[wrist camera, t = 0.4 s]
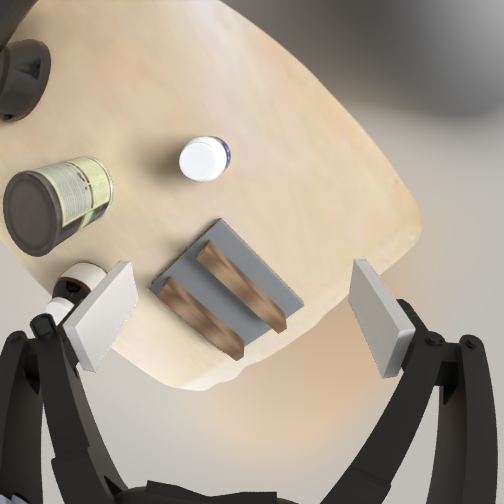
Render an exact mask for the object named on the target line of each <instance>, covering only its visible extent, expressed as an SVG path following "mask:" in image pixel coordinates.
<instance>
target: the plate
mask: <svg viewBox="0 0 504 504" xmlns="http://www.w3.org/2000/svg"><path fill="white" fill-rule="evenodd" d="M209 240H210V241H211V242H212V243H213V244H214V245H215V246H216V247H217V248H218V249H219V250H220V251H222V252H223V253H224V254H225V255H226V256H227V257H228V258H229V259H230V260H231V261H232V262H233V263H234V264H235V265H236V266H237V267H238V268H239V269H240V270H241V271H242V272H243V273H244V274H245V275H246V276H247V277H248V278H249V279H250V280H251V281H252V282H253V283H254V284H255V285H256V286H258V287H259V288H260V289H261V290H262V291H263V292H264V293H265V294H266V295H267V296H268V297H269V298H270V299H271V300H272V301H273V302H274V303H275V304H276V305H277V306H278V307H279V308H281V309H282V310H283V311H284V312H285V318H288V317H289V316H290V315H292V314H293V313H295V312H296V311H297V310H299V309H300V308H302V307H303V306H304V303H303V301H302V300H301V299H300V298H299V297H298V296H297V295H296V294H295V292H294V291H293V290H292V289H291V288H290V287H289V286H288V285H287V284H286V283H285V282H284V281H283V280H282V279H281V278H280V277H279V276H278V275H277V274H276V273H275V272H274V271H273V270H272V269H271V268H270V267H269V266H268V265H267V264H266V263H265V262H264V261H263V260H262V259H261V258H260V257H259V256H258V255H257V254H256V253H255V252H254V251H253V250H252V249H251V248H250V247H249V246H248V245H247V244H246V243H245V242H244V241H243V240H242V239H241V238H240V237H239V236H238V235H237V233H236V232H235V231H234V230H233V229H232V228H231V227H230V226H229V225H228V224H227V223H226V222H225V221H224V220H223V219H222V218H221V219H219V220H218V221H217V222H216V223H215V224H214V225H213V226H212V227H211V228H210V229H209V230H208V231H207V232H205V233H204V234H203V235H202V236H201V237H200V238H199V239H198V240H197V241H196V242H195V243H194V244H193V245H192V246H191V247H190V248H189V249H187V250H186V251H185V252H184V253H183V254H182V255H181V256H180V257H179V258H178V259H177V260H176V261H175V262H174V263H173V264H172V265H171V266H170V267H169V268H168V269H167V270H166V271H165V272H164V273H163V274H162V275H161V276H160V277H159V278H158V279H157V280H156V281H155V282H154V283H153V284H152V285H151V286H150V288H149V289H150V290H151V291H152V292H154V293H155V294H156V295H157V294H158V293H159V291H160V289H161V288H162V286H163V284H164V283H165V281H166V280H167V279H168V278H169V277H172V278H174V279H175V280H176V281H177V282H178V283H179V284H180V285H181V286H182V287H183V288H184V289H186V290H187V291H188V292H189V293H190V294H191V295H192V296H193V297H194V298H196V299H197V300H198V301H199V302H200V303H201V304H202V305H203V306H205V307H206V308H207V309H208V310H209V311H210V312H212V313H213V314H214V315H215V316H216V317H217V318H218V319H220V320H221V321H222V322H223V323H224V324H226V325H227V326H228V327H229V328H230V329H231V330H233V331H234V332H235V333H236V334H237V335H239V336H240V337H241V338H242V339H244V340H245V343H244V347H245V346H246V345H248V344H249V343H251V342H252V341H254V340H255V339H257V338H258V337H260V336H261V335H263V334H264V333H266V332H267V331H269V330H270V329H272V328H271V327H270V326H269V325H268V324H267V323H266V322H265V321H263V320H262V319H261V318H260V317H259V316H258V315H257V314H256V313H254V312H253V311H252V310H251V309H250V308H249V307H248V306H247V305H246V304H245V303H243V302H242V301H241V300H240V299H239V298H238V297H237V296H236V295H235V294H234V293H233V292H231V291H230V290H229V289H228V288H227V287H226V286H225V285H224V284H223V283H222V282H221V281H220V280H219V279H217V278H216V277H215V276H214V275H213V274H212V273H211V272H210V271H209V270H208V269H207V268H206V267H205V266H204V265H203V264H202V263H201V262H200V261H198V260H197V256H198V254H199V252H200V250H201V248H202V247H203V246H204V245H205V244H206V243H207V242H208V241H209ZM171 309H172V308H171ZM178 315H179V314H178ZM185 321H186V320H185ZM191 326H192V325H191ZM197 331H198V330H197ZM222 351H223V350H222Z"/></svg>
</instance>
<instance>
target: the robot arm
mask: <svg viewBox="0 0 504 504" xmlns="http://www.w3.org/2000/svg"><path fill="white" fill-rule="evenodd" d="M37 1H38V0H0V120H3V121H15V120H20V119H22V118H24V117H25V116H27V115H28V114H29V113H30V112H31V111H32V110H33V109H34V107H35V106H36V105H37V103H38V102H39V100H40V98H41V96H42V94H43V92H44V90H45V87H46V85H47V82H48V78H49V74H50V67H51V58H50V52H49V49H48V47H47V46H46V45H45V44H44V43H43V42H40V41H37V40H32V39H27V40H22V41H17V42H13V43H9V44H7V42H8V41H9V39H10V38H11V36H12V35H13V33H14V32H15V30H16V29H17V27H18V26H19V24H20V23H21V22H22V20H23V19H24V18H25V16H26V15H27V14H28V12H29V11H30V10H31V8H32V7H33V6H34V4H35V3H36V2H37ZM138 301H139V298H138V294H137V289H136V285H135V280H134V276H133V271H132V266H131V261H119V262H118V263H117V264H116V265H115V266H114V267H113V268H112V269H111V271H110V272H109V273H108V274H107V275H106V276H105V277H104V278H103V279H102V280H101V281H100V282H99V284H98V285H97V286H96V287H95V288H94V289H93V290H92V291H91V292H90V294H89V295H88V296H87V297H86V298H85V299H82V300H81V301H79V302H78V303H76V304H75V305H74V306H73V308H72V309H71V311H69V312H68V313H67V315H66V316H65V317H64V318H63V319H62V320H61V321H60V323H59V324H58V325H57V326H56V323H55V321H54V318H53V316H52V315H51V314H49V313H44V314H40V315H38V316H36V317H35V318H33V319H32V321H31V322H30V327H31V329H32V331H33V333H34V336H35V338H33V339H28V338H27V336H26V334H25V332H24V331H16V332H13V333H11V334H10V335H9V336H8V337H7V339H6V341H5V344H4V347H3V350H2V352H1V355H0V504H43V491H42V476H41V426H42V411H43V404H44V409H45V414H46V419H47V424H48V428H49V433H50V437H51V441H52V445H53V448H54V452H55V456H56V457H55V458H53V459H52V460H51V464H52V469H53V472H54V475H55V478H56V481H57V484H58V487H59V489H60V493H61V495H62V498H63V501H64V503H65V504H298V503H295V502H293V501H289V500H286V499H282V498H277V492H240V493H234V494H227V495H220V496H212V497H209V496H204V495H202V494H199V493H196V492H193V491H190V490H187V489H185V488H182V487H180V486H177V485H171V484H165V483H159V482H154V481H150V480H148V481H147V486H144V487H135V488H131V489H128V487H127V486H126V485H125V484H124V482H123V480H122V479H121V477H120V475H119V474H118V472H117V470H116V468H115V466H114V464H113V462H112V460H111V458H110V455H109V453H108V451H107V449H106V446H105V445H104V442H103V440H102V437H101V435H100V433H99V430H98V428H97V425H96V423H95V420H94V417H93V415H92V412H91V409H90V406H89V404H88V401H87V398H86V395H85V392H84V389H83V386H82V383H81V380H80V376H79V372H78V370H77V368H76V365H77V363H78V362H80V364H81V366H82V368H83V370H86V371H91V372H96V371H97V369H98V367H99V366H100V364H101V362H102V360H103V359H104V357H105V355H106V353H107V352H108V350H109V348H110V347H111V345H112V343H113V341H114V340H115V338H116V336H117V335H118V333H119V331H120V330H121V328H122V326H123V325H124V323H125V322H126V320H127V318H128V317H129V315H130V314H131V312H132V310H133V309H134V307H135V306H136V304H137V302H138ZM348 301H349V303H350V306H351V308H352V310H353V312H354V314H355V316H356V318H357V321H358V323H359V325H360V327H361V329H362V332H363V334H364V336H365V339H366V341H367V343H368V345H369V348H370V350H371V352H372V355H373V357H374V359H375V362H376V364H377V366H378V369H379V371H380V373H381V376H382V378H389V377H395V376H397V375H398V373H399V371H400V368H401V367H402V369H403V371H404V373H403V375H402V377H401V379H400V381H399V384H398V386H397V388H396V390H395V392H394V393H393V395H392V397H391V399H390V401H389V403H388V405H387V407H386V409H385V410H384V412H383V414H382V416H381V417H380V419H379V421H378V423H377V425H376V426H375V428H374V429H373V431H372V433H371V434H370V436H369V437H368V439H367V441H366V443H365V444H364V445H363V447H362V448H361V450H360V451H359V453H358V454H357V456H356V457H355V459H354V460H353V462H352V463H351V465H350V466H349V467H348V469H347V470H346V471H345V472H344V474H343V475H342V477H341V478H340V479H339V480H338V482H337V483H336V484H335V486H334V487H333V488H332V489H331V491H330V492H329V493H328V494H327V496H326V497H325V498H324V499H323V501H322V502H321V503H320V504H382V502H383V501H384V499H385V497H386V496H387V494H388V492H389V490H390V488H391V481H392V480H393V478H394V476H395V474H396V472H397V470H398V468H399V467H400V465H401V463H402V460H403V459H404V457H405V454H406V453H407V451H408V449H409V447H410V444H411V442H412V440H413V438H414V436H415V433H416V431H417V429H418V426H419V424H420V422H421V419H422V417H423V414H424V412H425V409H426V407H427V404H428V401H429V398H430V395H431V393H432V390H433V387H434V386H440V387H439V415H438V431H437V441H436V450H435V458H434V465H433V471H432V477H431V483H430V488H429V493H428V497H427V502H426V504H495V501H496V489H497V469H498V467H497V466H498V449H497V448H498V447H497V427H496V415H495V406H494V398H493V390H492V384H491V378H490V373H489V368H488V362H487V357H486V353H485V349H484V345H483V343H482V341H481V340H480V339H479V338H478V337H476V336H473V335H464V336H462V337H461V339H460V341H459V343H448V342H446V341H445V339H444V338H443V337H442V336H441V335H440V334H438V333H436V332H432V331H428V329H427V328H426V326H425V325H424V323H423V322H422V321H421V319H420V318H419V316H418V315H417V314H416V312H415V311H414V309H413V308H412V307H411V305H410V304H409V303H407V302H406V301H404V300H403V299H395V298H394V296H393V295H392V293H391V292H390V291H389V289H388V288H387V287H386V285H385V284H384V282H383V281H382V280H381V278H380V277H379V276H378V274H377V273H376V271H375V270H374V269H373V267H372V266H371V265H370V263H369V262H368V261H367V260H366V259H354V263H353V270H352V277H351V284H350V290H349V296H348Z"/></svg>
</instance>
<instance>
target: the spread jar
mask: <svg viewBox="0 0 504 504" xmlns="http://www.w3.org/2000/svg"><path fill="white" fill-rule="evenodd" d="M107 274H108V273H107V272H106V271H105V270H104V269H102V268H101V267H99V266H96V265H94V264H90V263H78V264H75V265H73V266H71V267H70V268H69V269H68V270H67V271H65V272H64V273H63V274H62V275H61V276H60V277H59V279H58V280H57V282H56V284H55V286H54V290H53V295H52V300H51V301H50V302H49V303H48V304H47V306H46V308H45V313H49V314H51V315H52V316H53V318H54V321H55V323H56V326H57V325H58V324H59V323H60V321H61V320H62V319H63V318H64V317H65V316H66V315H67V313H68V312H69V311H71V309H72V308H73V306H74V305H75V304H76V303H78V302H79V301H81V300H82V299H85V298H86V297H87V296H88V295H89V294H90V292H91V291H92V290H93V289H94V288H95V287H96V286H97V285H98V284H99V282H100V281H101V280H102V279H103V278H104V277H105V276H106V275H107ZM129 316H130V315H129ZM127 319H128V318H127Z"/></svg>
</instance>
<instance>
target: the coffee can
mask: <svg viewBox="0 0 504 504" xmlns="http://www.w3.org/2000/svg"><path fill="white" fill-rule="evenodd" d="M112 198H113V184H112V179H111V176H110V174H109V172H108V170H107V169H106V167H105V166H104V165H103V164H102V163H101V162H100V161H98V160H97V159H95V158H92V157H80V158H78V159H73V160H69V161H65V162H60V163H56V164H52V165H48V166H45V167H41V168H37V169H34V170H30V171H23V172H19V173H17V174H16V175H15V176H13V178H12V179H11V180H10V181H9V183H8V185H7V187H6V190H5V193H4V199H3V213H4V219H5V223H6V226H7V229H8V232H9V234H10V236H11V237H12V239H13V241H14V242H15V244H16V245H17V246H18V247H19V248H20V249H21V250H22V251H23V252H25V253H27V254H28V255H31V256H35V257H40V256H44V255H46V254H47V253H49V252H50V251H51V250H52V249H53V248H54V247H55V246H57V245H58V244H60V243H61V242H63V241H64V240H66V239H67V238H69V237H70V236H72V235H73V234H74V233H76V232H78V231H79V230H81V229H82V228H84V227H85V226H87V225H88V224H90V223H92V222H93V221H95V220H97V219H99V218H101V217H102V216H103V215H104V214H105V213H106V212H107V210H108V209H109V207H110V205H111V202H112Z"/></svg>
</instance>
